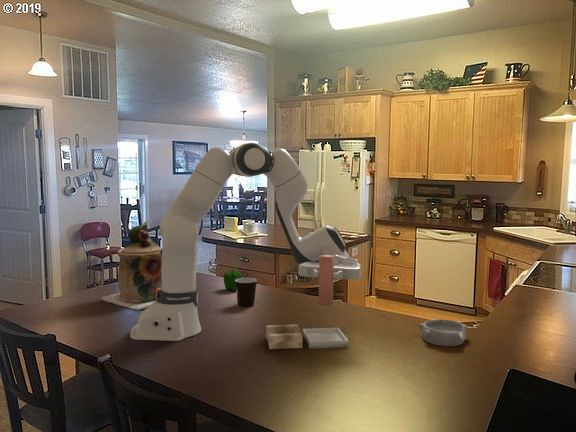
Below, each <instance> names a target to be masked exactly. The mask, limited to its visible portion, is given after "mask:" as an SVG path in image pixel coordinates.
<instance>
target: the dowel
mask: <svg viewBox="0 0 576 432" xmlns="http://www.w3.org/2000/svg"><path fill="white" fill-rule="evenodd" d="M318 262H319V278H318V304H319V305H320V306H324V307H325V306H327V307H329V306H333V305H334V281H333V273H334V256H331V255H321V256H319V259H318Z"/></svg>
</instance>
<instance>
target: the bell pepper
mask: <svg viewBox="0 0 576 432" xmlns="http://www.w3.org/2000/svg"><path fill="white" fill-rule="evenodd" d="M237 270H238V269H237V268H233V269H232V271H225V272H224V273H223V284H224V288H225V289H226V290H227V291H230V290H231V291H232V292H233V291H234V292H236V284H235V280H236V279H239V278H243V274H242V273H241V272H240V271H237Z"/></svg>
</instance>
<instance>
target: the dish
mask: <svg viewBox="0 0 576 432" xmlns="http://www.w3.org/2000/svg"><path fill="white" fill-rule="evenodd" d="M419 326H420V327H419V329H420V330H421V331H422V332H421V334H422V338H423V340H424V341H425V342H427V343H429V344H432V345H436V346H441V347H457V345H458V346H461V345H462V344H464V343H465V340H466V337H467V330H468V328H467V325H466V324H464V323H462V322H459V321H456V320H451V319H443V318H442V319H429V320H425V321H424V322H421V323H420V325H419Z"/></svg>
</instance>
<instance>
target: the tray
mask: <svg viewBox="0 0 576 432" xmlns="http://www.w3.org/2000/svg"><path fill="white" fill-rule="evenodd" d="M302 334H303V338H304V341H305V343H306V344H307V347H308V349H309V350H310V349H313V350H314V349H330V348H332V349H334V348H335V349H336V348H337V349H338V348H348V347H349V339H348V338H347V336H346V335H345V334H344V333H343V331H342V330H341V329H340V328H339V327H326V328H325V327H321V328H302Z"/></svg>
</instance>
